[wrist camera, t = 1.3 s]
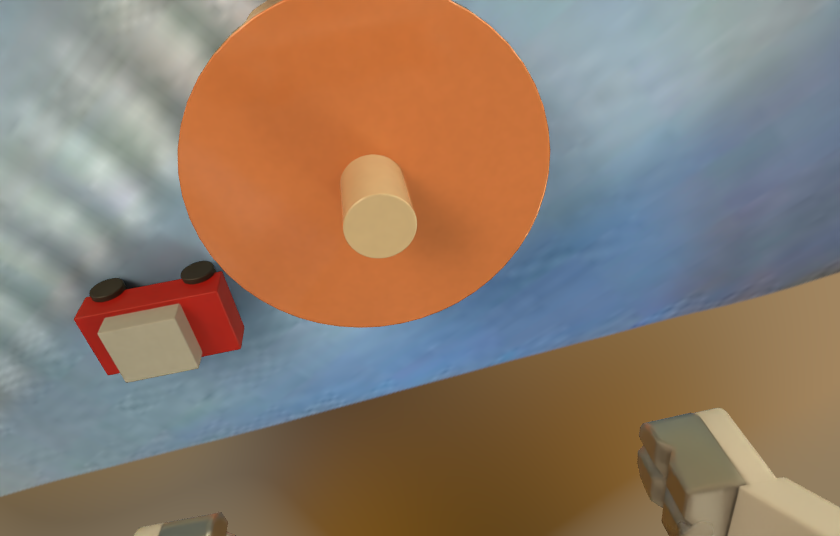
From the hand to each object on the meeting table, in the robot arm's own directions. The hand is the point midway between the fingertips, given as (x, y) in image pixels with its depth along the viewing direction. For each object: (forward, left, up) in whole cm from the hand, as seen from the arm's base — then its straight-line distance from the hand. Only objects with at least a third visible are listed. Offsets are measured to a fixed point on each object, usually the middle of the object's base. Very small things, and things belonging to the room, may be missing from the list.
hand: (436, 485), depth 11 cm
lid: (0, 0, -15) cm, 15 cm away
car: (-13, -9, -22) cm, 28 cm away
